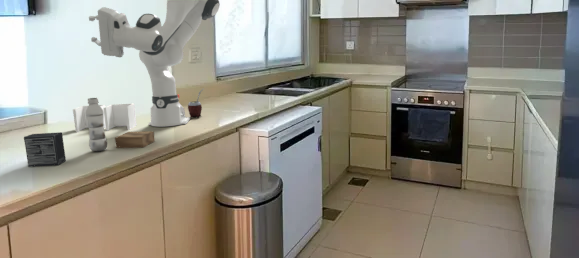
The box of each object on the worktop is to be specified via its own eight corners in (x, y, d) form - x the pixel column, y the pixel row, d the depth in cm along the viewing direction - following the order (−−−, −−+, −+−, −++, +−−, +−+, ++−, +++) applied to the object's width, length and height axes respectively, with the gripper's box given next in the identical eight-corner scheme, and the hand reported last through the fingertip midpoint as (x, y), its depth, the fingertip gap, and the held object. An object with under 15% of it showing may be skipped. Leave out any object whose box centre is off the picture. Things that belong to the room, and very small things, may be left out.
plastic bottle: (88, 153, 177) (82, 100, 173) (91, 149, 183) (84, 98, 179) (107, 151, 178) (101, 98, 175) (109, 148, 185) (102, 96, 181)
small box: (67, 160, 168) (63, 131, 166) (59, 165, 161) (54, 135, 159) (36, 162, 168) (32, 133, 166) (27, 167, 161) (22, 136, 159)
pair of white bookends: (136, 125, 233) (134, 103, 231) (129, 130, 222) (127, 106, 220) (85, 128, 233) (82, 105, 230) (75, 132, 222) (72, 109, 220)
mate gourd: (186, 117, 250) (184, 88, 248) (200, 115, 255) (197, 87, 252) (192, 118, 245) (190, 89, 242) (206, 116, 249) (204, 88, 246)
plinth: (129, 141, 195) (128, 131, 194) (154, 141, 194) (153, 131, 193) (116, 147, 185) (114, 137, 184) (143, 147, 183) (141, 136, 182)
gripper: (127, 55, 205) (97, 48, 206) (124, 9, 193) (92, 3, 195) (120, 61, 200) (89, 54, 201) (116, 15, 188) (84, 8, 189)
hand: (90, 28), depth 198 cm, fingers open, 8 cm apart
